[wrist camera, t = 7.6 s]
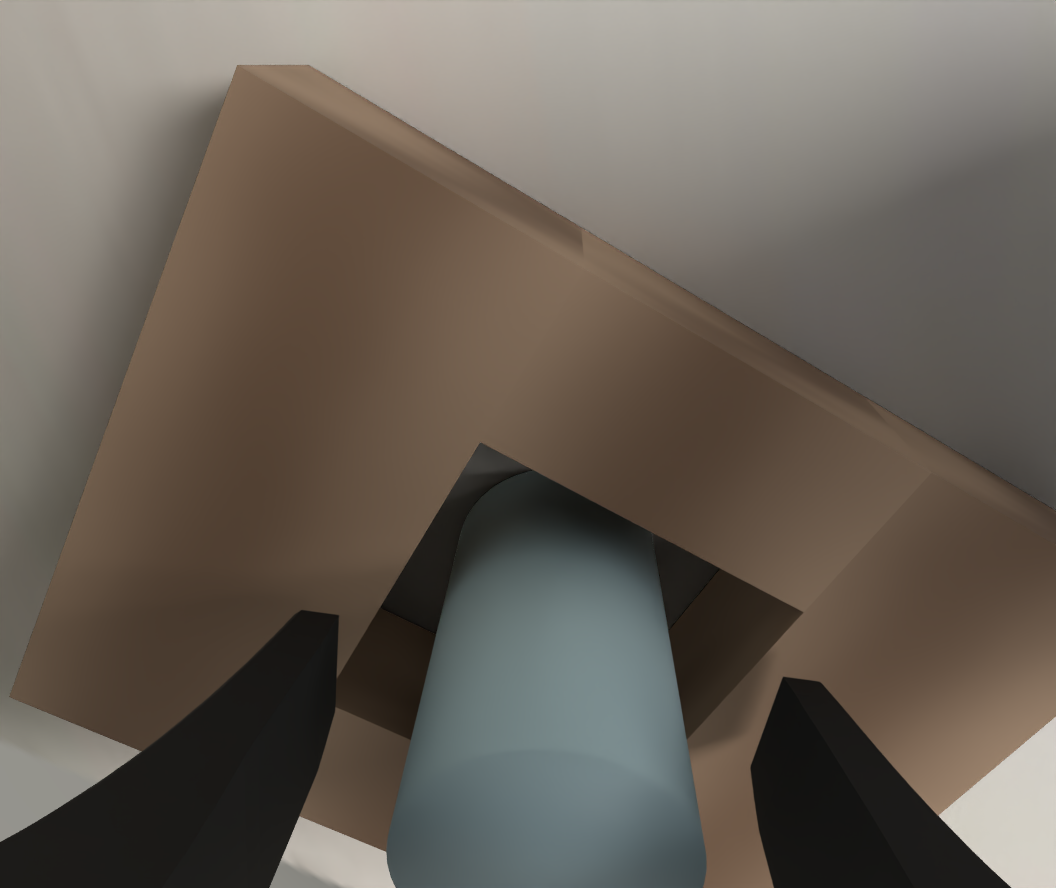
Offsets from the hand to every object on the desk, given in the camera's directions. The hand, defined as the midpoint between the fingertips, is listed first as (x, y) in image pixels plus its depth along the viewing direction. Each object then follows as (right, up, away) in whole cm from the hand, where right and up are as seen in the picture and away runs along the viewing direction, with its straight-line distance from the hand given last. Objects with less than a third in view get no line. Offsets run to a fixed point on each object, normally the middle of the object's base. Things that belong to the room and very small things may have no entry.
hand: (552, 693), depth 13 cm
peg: (0, +2, +3) cm, 4 cm away
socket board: (0, +2, +3) cm, 4 cm away
